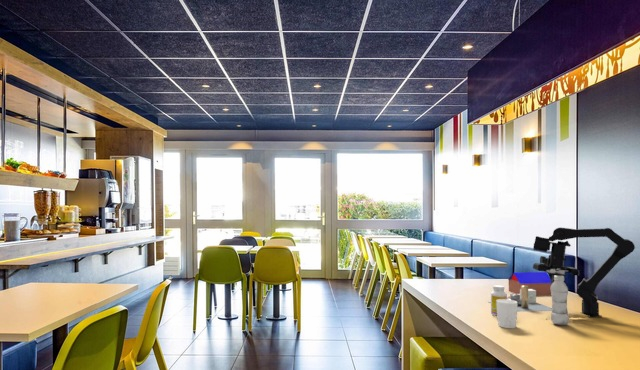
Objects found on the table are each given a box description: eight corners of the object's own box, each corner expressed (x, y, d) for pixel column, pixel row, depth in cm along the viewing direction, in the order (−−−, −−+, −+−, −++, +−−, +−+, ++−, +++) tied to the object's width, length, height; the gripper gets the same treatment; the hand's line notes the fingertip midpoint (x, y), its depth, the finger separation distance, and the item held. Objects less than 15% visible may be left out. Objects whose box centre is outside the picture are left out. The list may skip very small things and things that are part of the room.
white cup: (500, 322, 179) (499, 298, 179) (520, 325, 174) (519, 300, 174) (494, 326, 173) (493, 301, 173) (514, 330, 168) (514, 304, 168)
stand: (558, 312, 196) (558, 297, 196) (509, 313, 193) (509, 298, 194) (532, 303, 216) (532, 289, 216) (487, 303, 213) (487, 289, 214)
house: (507, 291, 247) (507, 271, 248) (539, 290, 250) (539, 270, 250) (520, 295, 235) (519, 274, 236) (553, 294, 238) (553, 273, 238)
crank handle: (535, 308, 199) (535, 286, 200) (517, 308, 198) (517, 286, 199) (517, 301, 214) (517, 280, 215) (500, 301, 213) (500, 281, 214)
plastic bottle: (560, 327, 172) (559, 277, 173) (547, 323, 178) (546, 274, 179) (573, 326, 173) (572, 276, 174) (559, 322, 180) (558, 274, 181)
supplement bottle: (508, 317, 187) (508, 287, 188) (492, 316, 188) (492, 287, 189) (505, 313, 193) (504, 285, 194) (489, 313, 195) (489, 284, 195)
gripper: (568, 253, 207) (564, 285, 207) (529, 249, 208) (525, 280, 208) (581, 258, 196) (577, 291, 196) (540, 253, 197) (536, 286, 197)
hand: (553, 287), depth 200 cm, fingers closed
